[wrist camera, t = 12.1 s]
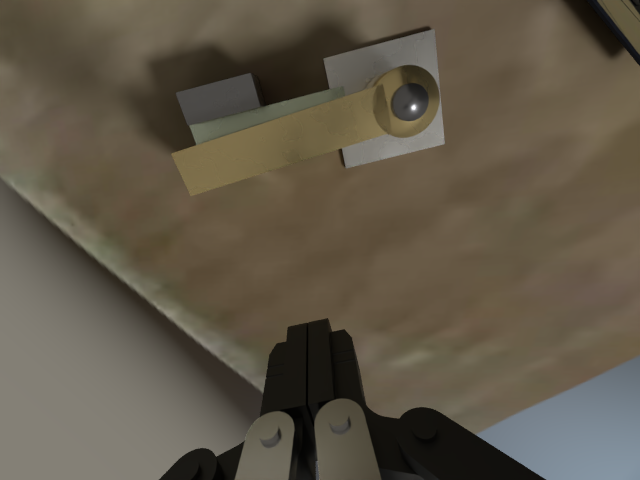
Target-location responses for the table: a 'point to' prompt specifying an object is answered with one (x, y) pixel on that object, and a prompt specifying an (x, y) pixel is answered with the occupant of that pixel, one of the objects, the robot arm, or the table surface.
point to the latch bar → (306, 133)
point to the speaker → (622, 22)
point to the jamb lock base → (326, 98)
